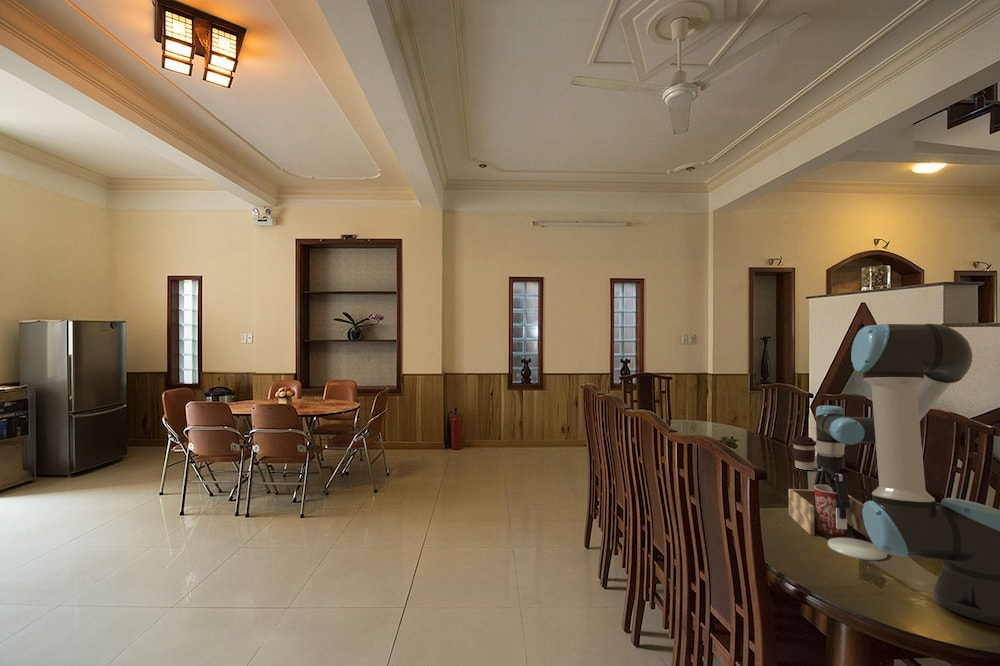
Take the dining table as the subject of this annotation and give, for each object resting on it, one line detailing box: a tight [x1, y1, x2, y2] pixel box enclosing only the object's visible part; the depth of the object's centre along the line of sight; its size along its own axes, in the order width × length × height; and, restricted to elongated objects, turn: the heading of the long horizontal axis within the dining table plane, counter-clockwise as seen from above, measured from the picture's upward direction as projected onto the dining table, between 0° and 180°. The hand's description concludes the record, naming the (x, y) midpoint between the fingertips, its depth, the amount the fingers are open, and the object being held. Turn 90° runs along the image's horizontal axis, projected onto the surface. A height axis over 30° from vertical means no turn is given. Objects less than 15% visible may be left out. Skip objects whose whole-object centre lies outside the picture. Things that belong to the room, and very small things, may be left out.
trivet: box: [827, 537, 888, 562], centre depth 144 cm, size 14×14×1 cm
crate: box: [788, 488, 871, 540], centre depth 162 cm, size 18×17×9 cm
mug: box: [813, 485, 849, 536], centre depth 160 cm, size 13×9×14 cm
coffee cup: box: [791, 435, 816, 471], centre depth 234 cm, size 10×10×15 cm
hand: (831, 520), depth 160 cm, fingers open, 13 cm apart
